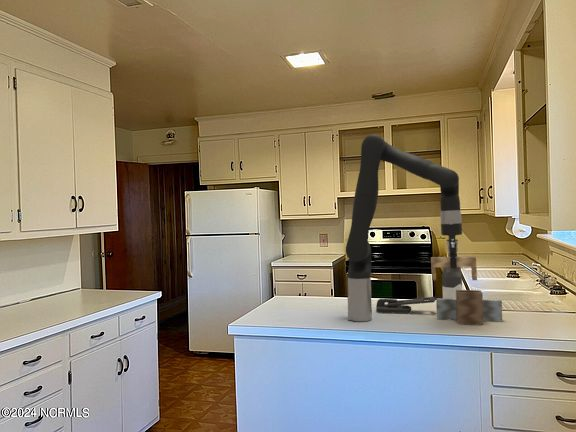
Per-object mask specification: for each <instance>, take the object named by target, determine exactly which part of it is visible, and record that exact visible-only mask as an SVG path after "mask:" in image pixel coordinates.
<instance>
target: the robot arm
mask: <svg viewBox="0 0 576 432" xmlns="http://www.w3.org/2000/svg"><path fill="white" fill-rule="evenodd" d="M381 161H382V162H386V163H390V164H391V165H394V166H396V167H398V168H401V169H403V170H405V171H406V172H409V173H410V174H413V175H415V176H417V177H419V178H422V179H423V180H424V179H425V180H428V181H431V182H432V183H434V184H437V185H438V186H439V187H440V233H441V236H448V239H446V245H447V246H446V247H447V248H446V249H447V252H449V257H450V267H451V268H457V262H456V258H457V257H458V253H457V252H458V245H459V240H458V238H456V236H460V235H462V234H463V224H462V223H463V222H462V221H463V220H462V212H461V202H460V201H461V199H460V196H459V193H460V192H459V191H460V188H459V187H460V181H459V180H460V178H459V175H458V173H457V172H456V171H454V170H453V169H450V168H448V167H445V166H442V165H440V164H436V163H435V162H432V161H431V160H428V159H425V158H423V157H421V156H418V155H415V154H413V153H410V152H406V151H403V150H401V149H399V148H397V147H395V146H393V145H392V144H390V143H388V142H387V141H385V139H384V138H382V137H381V135H378V134H375V133H374V134H373V133H372V134H369V135H366V137H364V138H363V140H362V142H361V148H360V164H359V165H360V166H359V173H358V177H357V181H356V187H355V193H354V198H353V206H352V215H351V225H350V229H349V234H348V238H347V242H346V244H345V245H346V246H345V254H346V256H347V258H348V262H349V263H348V270H347V285H348V287H347V288H348V293H347V294H348V296H347V319H348V321H353V322H361V323H362V322H369V321H371V320H373V318H372V317H373V313H372V311H373V310H372V309H373V308H372V279H371V274H372V248H371V247H372V246H371V245H370V242H369V233H370V232H369V231H370V227H371V224H372V222H373V219H374V215H375V213H376V209H377V203H378V197H379V168H380V163H381Z"/></svg>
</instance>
